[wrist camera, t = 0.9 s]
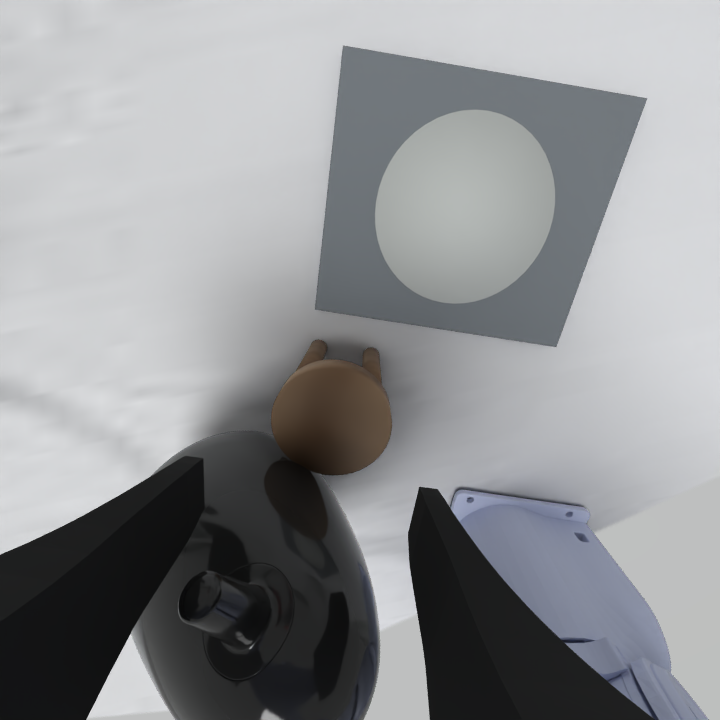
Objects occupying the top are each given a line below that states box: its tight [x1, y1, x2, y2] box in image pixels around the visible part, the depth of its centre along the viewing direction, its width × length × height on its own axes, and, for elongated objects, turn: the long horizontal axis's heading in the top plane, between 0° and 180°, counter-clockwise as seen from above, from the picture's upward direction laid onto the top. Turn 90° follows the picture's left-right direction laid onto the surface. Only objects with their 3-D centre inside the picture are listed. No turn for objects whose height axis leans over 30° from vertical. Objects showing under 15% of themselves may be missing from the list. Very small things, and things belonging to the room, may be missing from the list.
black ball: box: [131, 431, 380, 720], centre depth 15 cm, size 10×10×15 cm
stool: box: [271, 340, 392, 475], centre depth 18 cm, size 6×6×6 cm
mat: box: [315, 46, 647, 347], centre depth 17 cm, size 14×12×1 cm
